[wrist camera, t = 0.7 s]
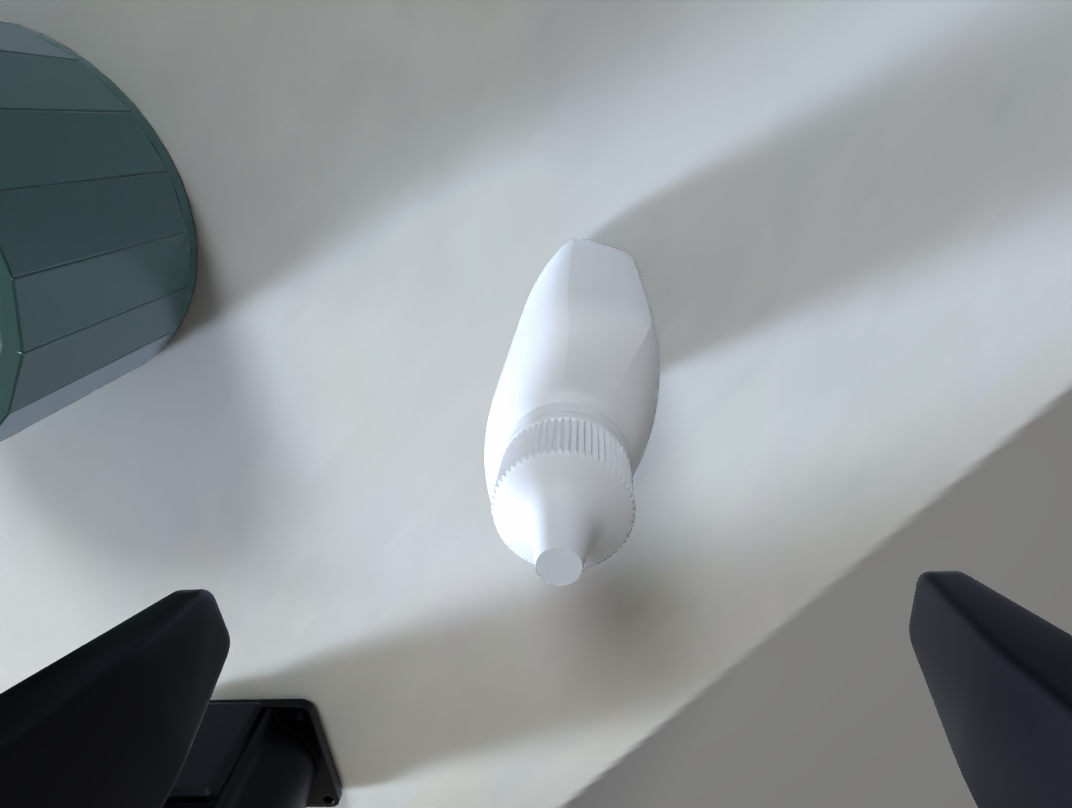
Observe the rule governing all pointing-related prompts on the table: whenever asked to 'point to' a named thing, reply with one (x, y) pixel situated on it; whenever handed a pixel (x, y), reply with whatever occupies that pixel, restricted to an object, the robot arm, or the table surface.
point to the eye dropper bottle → (573, 412)
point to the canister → (81, 231)
